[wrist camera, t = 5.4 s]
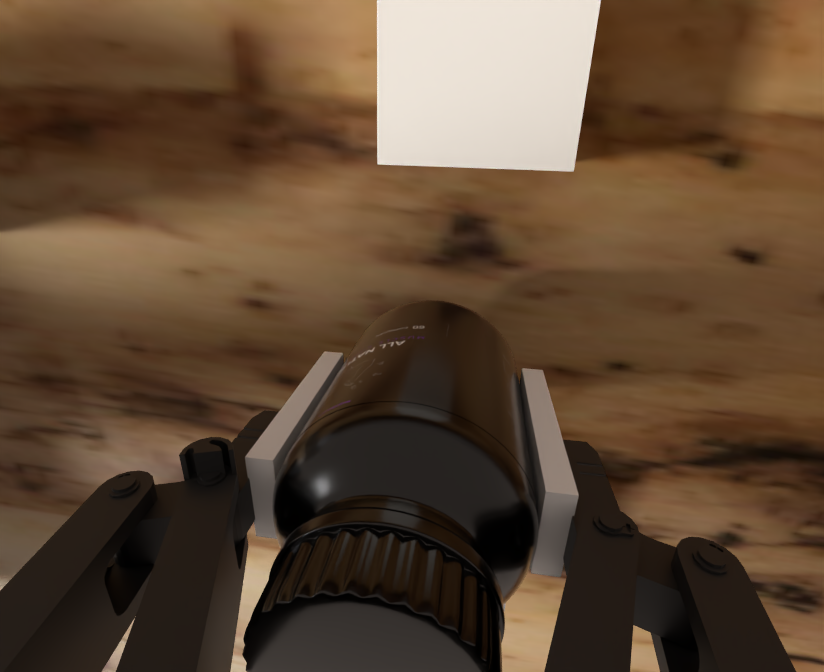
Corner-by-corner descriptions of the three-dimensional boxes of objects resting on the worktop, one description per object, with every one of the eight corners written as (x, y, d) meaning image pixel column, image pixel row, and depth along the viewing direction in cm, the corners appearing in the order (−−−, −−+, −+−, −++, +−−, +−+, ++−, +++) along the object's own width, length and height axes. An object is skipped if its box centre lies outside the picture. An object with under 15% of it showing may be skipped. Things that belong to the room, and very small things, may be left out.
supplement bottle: (383, 268, 17) (224, 475, 6) (545, 333, 18) (660, 644, 7) (334, 407, 20) (164, 716, 9) (474, 462, 20) (472, 831, 9)
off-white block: (548, 163, 19) (573, 171, 13) (407, 159, 20) (377, 164, 14) (572, -11, 17) (615, -87, 11) (411, -8, 17) (376, -80, 12)
